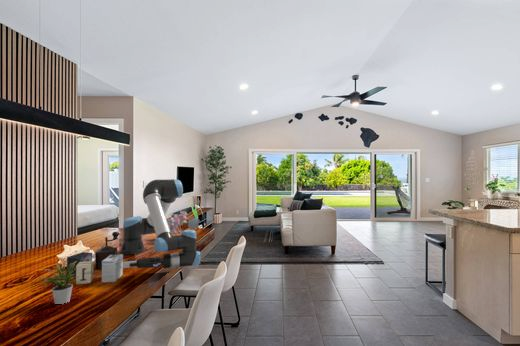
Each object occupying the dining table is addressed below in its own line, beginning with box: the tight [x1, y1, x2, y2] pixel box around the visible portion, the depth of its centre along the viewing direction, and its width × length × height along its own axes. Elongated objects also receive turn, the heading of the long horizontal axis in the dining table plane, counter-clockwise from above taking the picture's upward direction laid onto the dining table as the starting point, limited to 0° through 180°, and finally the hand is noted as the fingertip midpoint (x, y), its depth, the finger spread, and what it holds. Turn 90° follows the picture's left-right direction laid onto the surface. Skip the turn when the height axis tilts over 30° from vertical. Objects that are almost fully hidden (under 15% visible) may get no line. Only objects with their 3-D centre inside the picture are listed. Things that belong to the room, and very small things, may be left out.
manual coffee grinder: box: [94, 231, 120, 270], centre depth 167 cm, size 16×11×18 cm
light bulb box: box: [101, 253, 124, 283], centre depth 145 cm, size 11×7×11 cm, turn 8°
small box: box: [66, 251, 93, 279], centre depth 150 cm, size 11×6×10 cm, turn 168°
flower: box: [167, 208, 188, 236], centre depth 232 cm, size 20×22×25 cm
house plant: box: [39, 261, 78, 305], centre depth 119 cm, size 14×14×16 cm
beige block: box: [75, 260, 94, 285], centre depth 141 cm, size 6×6×9 cm
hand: (122, 265), depth 146 cm, fingers closed
